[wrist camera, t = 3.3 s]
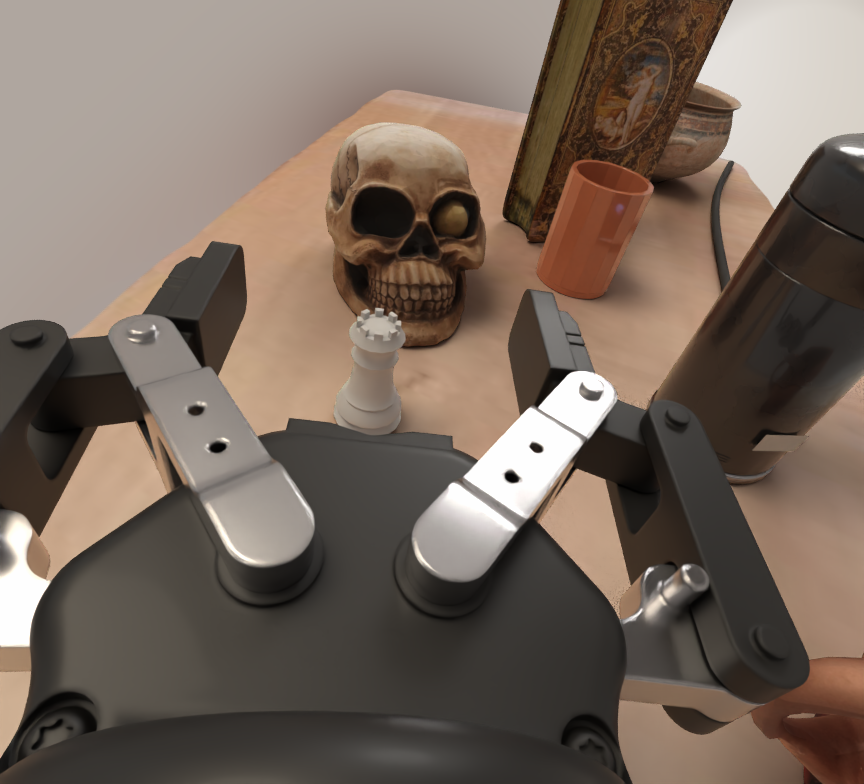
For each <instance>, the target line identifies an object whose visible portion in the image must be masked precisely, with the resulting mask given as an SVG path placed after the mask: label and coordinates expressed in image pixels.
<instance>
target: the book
mask: <svg viewBox="0 0 864 784" xmlns="http://www.w3.org/2000/svg"><path fill="white" fill-rule="evenodd" d="M732 1H733V0H561V1H560V4H559V8H558V11H557V15H556V18H555V22H554V26H553V29H552V33H551V36H550V40H549V43H548V47H547V51H546V54H545V58H544V62H543V65H542V69H541V72H540V76H539V79H538V83H537V87H536V90H535V94H534V97H533V101H532V104H531V108H530V112H529V115H528V119H527V122H526V126H525V129H524V133H523V137H522V140H521V144H520V147H519V151H518V155H517V158H516V162H515V165H514V169H513V172H512V176H511V180H510V183H509V187H508V190H507V194H506V198H505V202H504V207H503V217H504V218H505V219H507V220H509V221H512V222H514V223H516V224H518V225H519V226H521V227H522V228H523V229H524V230H525V231H526V233H527V239H528V240H529V241H531V242H540V241H546V238H547V235H548V232H549V229H550V226H551V223H552V221H553V218H554V215H555V212H556V209H557V206H558V203H559V200H560V198H561V195H562V192H563V189H564V186H565V183H566V180H567V177H568V175H569V172H570V169H571V166H572V165H573V163H574V162H576V161H580V160H598V161H604V162H609V163H613V164H616V165H619V166H623V167H625V168H628V169H630V170H632V171H634V172H637V173H638V174H640V175H642V176H643V177H645V178H646V179H648V180H649V181H650V180H651V178H652V175H653V173H654V171H655V169H656V167H657V165H658V162H659V160H660V158H661V156H662V154H663V151H664V149H665V147H666V145H667V143H668V141H669V138H670V136H671V134H672V132H673V130H674V128H675V125H676V123H677V121H678V119H679V117H680V114H681V112H682V110H683V108H684V106H685V104H686V101H687V99H688V97H689V95H690V93H691V91H692V88H693V86H694V84H695V82H696V79H697V77H698V75H699V73H700V71H701V69H702V66H703V64H704V62H705V60H706V58H707V56H708V54H709V51H710V49H711V47H712V45H713V43H714V40H715V38H716V36H717V34H718V32H719V30H720V27H721V25H722V23H723V21H724V19H725V17H726V14H727V12H728V10H729V8H730V6H731V3H732Z"/></svg>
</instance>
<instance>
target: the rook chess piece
mask: <svg viewBox="0 0 864 784" xmlns="http://www.w3.org/2000/svg"><path fill="white" fill-rule="evenodd" d="M383 312H384V309H382V308H375V314H372V315H370V311H369V310H368V309H366V310H364V311H361V317H359V316H357V321H356V322H355V323H354V324H353V325H352V326H351V327H350V330H349V336H350V338H351V340H352V342H353V343H354V344H355V346H354V347H353V348H352V353H351V356H352V358H353V359H354V365H353V368H352V372H351V376H350V378H349V379H348V380H347V382H346V383H345V384H344V385H343V386H342V388H341V389H340V391H339V392H338V394H337V396H336V403H335V406H334V417H335V419H336V422H337V424H338V425H339V426H343V427H346V428H349V429H352V430H355V431H358V432H362V433H365V434H368V435H384V434H389V433H390V432H392V431H393V430H395V429H396V428H397V426H398V424H399V422H400V421H401V398H400V396H399V394H398V392H397V389H396V387H395V386H394V383H393V368H394V365H395V364H396V363H397V361H398V353H397V351H396V350H398V349H399V348H401V347H402V345H403V344H404V342H405V333H404V331H403V330H402V328H401V321H397V317H398V315H396V314H395V313H393V312H390V313H389V317H387V316H384V315H383Z"/></svg>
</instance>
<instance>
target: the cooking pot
mask: <svg viewBox="0 0 864 784" xmlns="http://www.w3.org/2000/svg"><path fill="white" fill-rule="evenodd" d="M740 107H741V103H740V102H739V101H738V100H737V99H735V98H734V97H732V96H730V95H728V94H726V93H724V92H722V91H719V90H717V89H714V88H712V87H710V86H707V85H704V84H701V83H698V82H695V84H694V86H693V88H692V91H691V93H690V95H689V97H688V99H687V101H686V104H685V106H684V108H683V110H682V112H681V114H680V117H679V119H678V121H677V123H676V125H675V128H674V130H673V132H672V134H671V136H670V138H669V141H668V143H667V145H666V147H665V149H664V151H663V154H662V156H661V158H660V160H659V162H658V165H657V167H656V169H655V171H654V173H653V175H652V178H651V180H650V182H661V181H664V180H669V179H675V178H679V177H684V176H689V175H692V174H695V173H698V172H700V171H702V170H704V169H705V168H707V167H709V166H710V165H711V164H712V163H713V162H715V161H716V160H717V159H718V157H719V156H720V155H721V154H722V152H723V150H724V149H725V147H726V145H727V142H728V139H729V135H730V131H731V126H732V117H733V111H734V110H737V109H739V108H740Z"/></svg>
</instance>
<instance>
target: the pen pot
mask: <svg viewBox="0 0 864 784" xmlns="http://www.w3.org/2000/svg"><path fill="white" fill-rule="evenodd" d="M653 189H654V186H653V185H652V184H651V183H650V181H649V180H648V179H646V178H645V177H643V176H642V175H640V174H638V173H637V172H634V171H632V170H630V169H628V168H625V167H623V166H619V165H616V164H613V163H609V162H604V161H598V160H580V161H576V162H574V163H573V165H572V166H571V169H570V172H569V175H568V177H567V180H566V183H565V186H564V189H563V192H562V195H561V198H560V200H559V203H558V206H557V209H556V212H555V215H554V218H553V221H552V223H551V226H550V229H549V232H548V235H547V238H546V241H545V244H544V246H543V249H542V252H541V255H540V258H539V261H538V265H537V268H536V271H537V275H538V277H539V278H540V279H541V281H542V282H544V283H545V284H546V285H547V286H549V287H550V288H552V289H553V290H555V291H557V292H559V293H562V294H564V295H567V296H571V297H575V298H581V299H593V298H597V297H600V296H602V295H603V294H604V293H605V292H606V290H607V289H608V287H609V285H610V283H611V280H612V278H613V276H614V274H615V272H616V270H617V268H618V265H619V263H620V261H621V259H622V257H623V255H624V253H625V251H626V248H627V246H628V244H629V242H630V240H631V238H632V236H633V233H634V231H635V229H636V227H637V225H638V223H639V221H640V219H641V216H642V214H643V212H644V210H645V208H646V206H647V204H648V201H649V199H650V197H651V195H652V193H653Z"/></svg>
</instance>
